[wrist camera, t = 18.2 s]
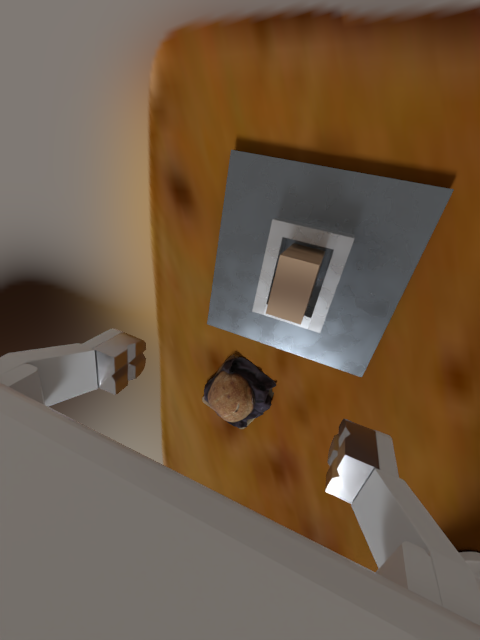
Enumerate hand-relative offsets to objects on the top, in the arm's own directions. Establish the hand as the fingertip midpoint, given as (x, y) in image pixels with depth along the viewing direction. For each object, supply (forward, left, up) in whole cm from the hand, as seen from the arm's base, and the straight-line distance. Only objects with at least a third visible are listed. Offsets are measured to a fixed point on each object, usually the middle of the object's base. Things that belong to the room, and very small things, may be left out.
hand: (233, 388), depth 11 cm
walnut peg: (0, 0, -19) cm, 19 cm away
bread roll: (+4, +18, -20) cm, 28 cm away
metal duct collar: (0, 0, -20) cm, 20 cm away
